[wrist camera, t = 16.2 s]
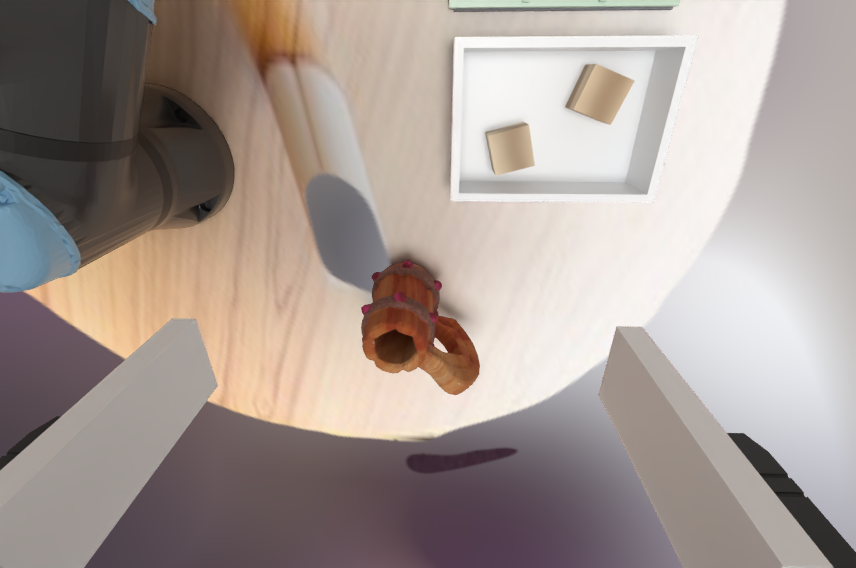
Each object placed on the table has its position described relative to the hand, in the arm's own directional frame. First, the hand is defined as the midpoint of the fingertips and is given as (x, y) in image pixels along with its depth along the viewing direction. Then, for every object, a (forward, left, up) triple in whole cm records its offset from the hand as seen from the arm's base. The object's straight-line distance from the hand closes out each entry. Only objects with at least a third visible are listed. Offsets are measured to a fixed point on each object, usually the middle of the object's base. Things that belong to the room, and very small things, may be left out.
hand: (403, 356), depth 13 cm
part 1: (+8, +2, -34) cm, 35 cm away
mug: (-1, -17, -35) cm, 39 cm away
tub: (+12, +4, -35) cm, 37 cm away
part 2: (+16, +7, -34) cm, 38 cm away
